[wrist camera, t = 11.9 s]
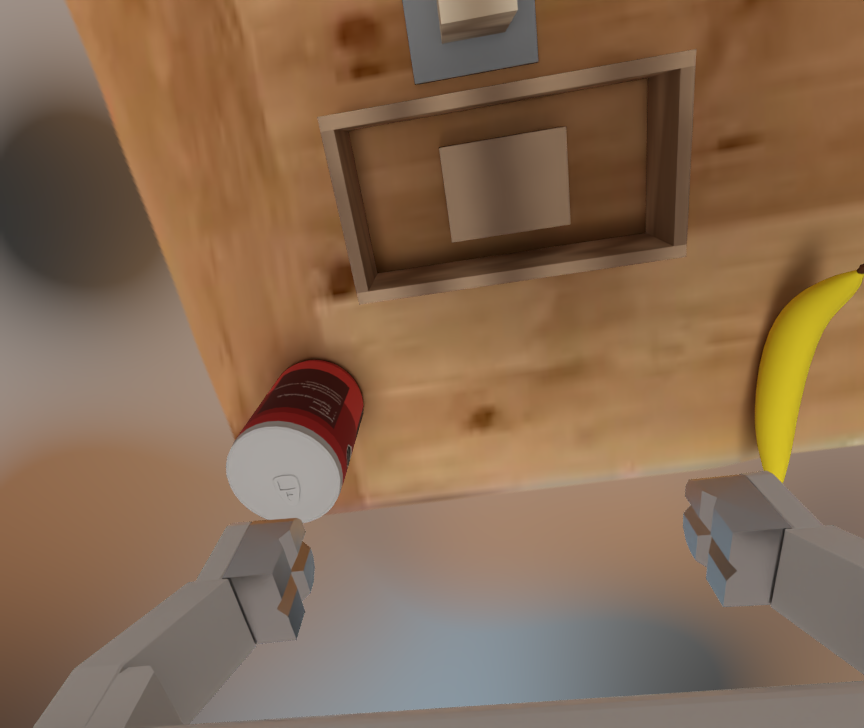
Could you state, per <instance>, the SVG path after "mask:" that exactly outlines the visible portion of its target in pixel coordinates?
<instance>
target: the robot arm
mask: <svg viewBox="0 0 864 728" xmlns="http://www.w3.org/2000/svg"><path fill="white" fill-rule="evenodd" d="M685 497H686V498H687V500H688V501H689V503H690V504H691V506H690V507H689V508H688V509H687V510H686V511H685V512H684V514H683V515H684V516H683V529H684V534H685V538H686V542H687V545H688V547H689V549H690V552H691V553H692V555H693V557H694V558H695V560H696V561H697V562H699V563H701V564H702V565H704V566H705V567H707V574H706V575H707V576H706V579H707V581H708V582H709V584H710V586H711V587H712V589H713V591H714V592H715V594H716V596H717V597H718V599H719V601H720V602H721V604H722V606H723V607H731V606H752V605H771V607H772V608H773V609H775V610H776V611H777V612H779V613H780V614H781V615H783V616H784V617H786V618H787V619H788V620H790V621H791V622H792V623H794V624H795V625H796V626H798V627H799V628H801V629H802V630H803V631H805V632H806V633H807V634H809V635H810V636H812V637H813V638H814V639H816V640H817V641H818V642H820V643H821V644H822V645H824V646H825V647H827V648H828V649H829V650H831V651H832V652H833V653H835V654H836V655H838V656H839V657H840V658H842V659H843V660H845V661H846V662H847V663H849V664H850V665H851V666H853V667H854V668H855V669H857V670H858V671H860V672H861V673H862V674H863V675H864V539H863V538H861V537H859V536H856V535H854V534H852V533H849V532H847V531H845V530H843V529H840V528H838V527H836V526H834V525H829V526H824V525H823V524H822V523H821V522H820V521H819V520H818V519H817V518H816V517H815V516H814V515H813V514H812V513H811V512H810V511H809V510H808V509H807V508H806V507H805V506H804V505H803V504H802V503H801V502H800V501H799V500H798V499H797V498H796V497H795V496H794V495H793V494H792V493H791V492H790V491H789V490H788V489H787V488H786V487H785V486H784V485H783V483H782V482H781V481H780V480H779V479H778V478H777V477H776V476H775V475H774V474H772V473H770V472H768V471H759V472H751V473H743V474H739V475H730V476H720V477H710V478H700V479H691V480H688V482H687V484H686V489H685ZM305 532H306V531H305V529H304V526H303V523H302V520H300V519H298V518H287V519H274V520H262V521H261V520H260V521H254V522H238V523H232V524H230V525H229V526H227V527H226V529H225V530H224V532H223V534H222V536H221V538H220V539H219V541H218V543H217V545H216V546H215V548H214V550H213V552H212V554H211V555H210V557H209V559H208V560H207V562H206V564H205V566H204V568H203V569H202V571H201V573H200V574H199V576H198V578H197V580H196V581H195V582H189V583H187V584H186V585H184V586H183V587H182V588H180V589H179V590H178V591H176V592H175V593H174V594H173V595H171V596H170V597H168V598H167V599H166V600H165V601H163V602H162V603H160V604H159V605H158V606H157V607H155V608H154V609H153V610H151V611H150V612H149V613H147V614H146V615H145V616H143V617H142V618H141V619H139V620H138V621H137V622H136V623H134V624H133V625H131V626H130V627H129V628H127V629H126V630H125V631H124V632H122V633H121V634H120V635H118V636H117V637H116V638H114V639H113V640H112V641H110V642H109V643H108V644H107V645H105V646H104V647H103V648H101V649H100V650H98V651H97V652H96V653H94V654H93V655H92V656H91V657H89V658H88V659H87V660H85V661H84V662H83V663H81V664H80V665H79V666H77V667H76V668H75V669H74V670H73V671H72V673H71V674H70V675H69V677H68V679H67V680H66V681H65V683H64V684H63V685H62V687H61V688H60V690H59V691H58V693H57V694H56V695H55V697H54V698H53V700H52V701H51V703H50V704H49V705H48V707H47V708H46V710H45V711H44V712H43V714H42V715H41V717H40V718H39V720H38V721H37V722H36V724H35V725H34V727H33V728H864V681H854V682H839V683H823V684H807V685H791V686H776V687H761V688H744V689H731V690H713V691H698V692H682V693H668V694H652V695H636V696H621V697H605V698H590V699H574V700H559V701H543V702H528V703H512V704H497V705H481V706H466V707H450V708H435V709H419V710H404V711H388V712H373V713H357V714H342V715H326V716H311V717H295V718H280V719H264V720H249V721H234V722H219V723H203V724H190V723H191V722H192V721H193V719H194V718H195V717H196V716H197V715H198V714H199V713H200V711H201V710H202V709H203V708H204V707H205V705H206V704H207V703H208V702H209V701H210V700H211V699H212V697H213V696H214V695H215V694H216V693H217V692H218V691H219V689H220V688H221V687H222V686H223V685H224V683H225V682H226V681H227V680H228V679H229V678H230V676H231V675H232V674H233V673H234V672H235V671H236V669H237V668H238V667H239V666H240V665H241V664H242V662H243V661H244V660H245V659H246V658H247V657H248V655H249V654H250V653H251V652H252V651H253V649H255V647H256V645H255V644H263V643H272V642H282V641H291V640H297V637H298V633H299V629H300V627H301V623H302V620H303V617H304V613H305V610H304V606H303V603H302V601H303V600H304V599H305V598H306V597H307V596H308V595H309V594H310V593H311V589H312V586H313V582H314V569H315V566H314V558H313V554H312V551H311V548H310V547H309V546H307V544H305V543H304V542H303V538H304V535H305Z"/></svg>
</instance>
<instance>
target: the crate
mask: <svg viewBox="0 0 864 728" xmlns="http://www.w3.org/2000/svg"><path fill="white" fill-rule="evenodd" d="M695 65H696V49H694V50H688V51H683V52H677V53H671V54H666V55H660V56H655V57H649V58H644V59H638V60H633V61H627V62H621V63H616V64H610V65H605V66H599V67H594V68H588V69H582V70H577V71H571V72H566V73H560V74H555V75H549V76H544V77H538V78H532V79H527V80H521V81H516V82H510V83H505V84H499V85H494V86H488V87H482V88H477V89H471V90H466V91H460V92H455V93H449V94H443V95H438V96H432V97H427V98H421V99H416V100H410V101H405V102H399V103H393V104H388V105H382V106H377V107H371V108H366V109H360V110H355V111H349V112H343V113H338V114H332V115H327V116H321V117H317V119H318V123H319V128H320V132H321V137H322V141H323V145H324V150H325V154H326V159H327V163H328V168H329V172H330V177H331V181H332V185H333V190H334V194H335V199H336V203H337V208H338V212H339V217H340V221H341V225H342V230H343V234H344V239H345V243H346V248H347V252H348V257H349V261H350V265H351V270H352V274H353V279H354V283H355V288H356V292H357V297H358V301H359V305H360V304H367V303H374V302H380V301H387V300H394V299H401V298H408V297H415V296H421V295H428V294H435V293H442V292H449V291H456V290H463V289H469V288H476V287H483V286H490V285H497V284H504V283H510V282H517V281H524V280H531V279H538V278H545V277H552V276H558V275H565V274H572V273H579V272H586V271H593V270H599V269H606V268H613V267H620V266H627V265H634V264H641V263H647V262H654V261H661V260H668V259H675V258H682V257H686V251H687V231H688V210H689V189H690V169H691V148H692V127H693V107H694V86H695ZM644 78H648V100H647V166H646V233H641V234H634V235H628V236H621V237H615V238H608V239H601V240H595V241H588V242H581V243H575V244H568V245H562V246H555V247H548V248H542V249H535V250H529V251H522V252H515V253H509V254H502V255H495V256H489V257H482V258H476V259H469V260H462V261H456V262H449V263H442V264H436V265H429V266H423V267H416V268H409V269H403V270H396V271H389V272H383V273H377V269H376V264H375V259H374V254H373V249H372V244H371V239H370V234H369V230H368V225H367V220H366V215H365V210H364V205H363V200H362V195H361V190H360V186H359V181H358V176H357V171H356V166H355V161H354V156H353V151H352V146H351V141H350V137H349V132H348V131H350V130H355V129H361V128H367V127H372V126H378V125H384V124H389V123H395V122H401V121H406V120H412V119H418V118H423V117H429V116H435V115H440V114H446V113H452V112H457V111H463V110H469V109H474V108H480V107H486V106H491V105H497V104H503V103H508V102H514V101H520V100H525V99H531V98H537V97H542V96H548V95H554V94H559V93H565V92H571V91H576V90H582V89H588V88H593V87H599V86H605V85H610V84H616V83H622V82H627V81H633V80H639V79H644ZM439 152H440V159H441V166H442V173H443V181H444V188H445V195H446V202H447V209H448V216H449V224H450V231H451V238H452V243H453V242H459V241H466V240H472V239H479V238H485V237H492V236H498V235H505V234H511V233H518V232H524V231H531V230H537V229H544V228H550V227H557V226H563V225H570V201H569V178H568V156H567V133H566V127H556V128H550V129H544V130H538V131H532V132H526V133H521V134H515V135H509V136H503V137H497V138H491V139H486V140H480V141H474V142H468V143H462V144H456V145H450V146H445V147H439Z"/></svg>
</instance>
